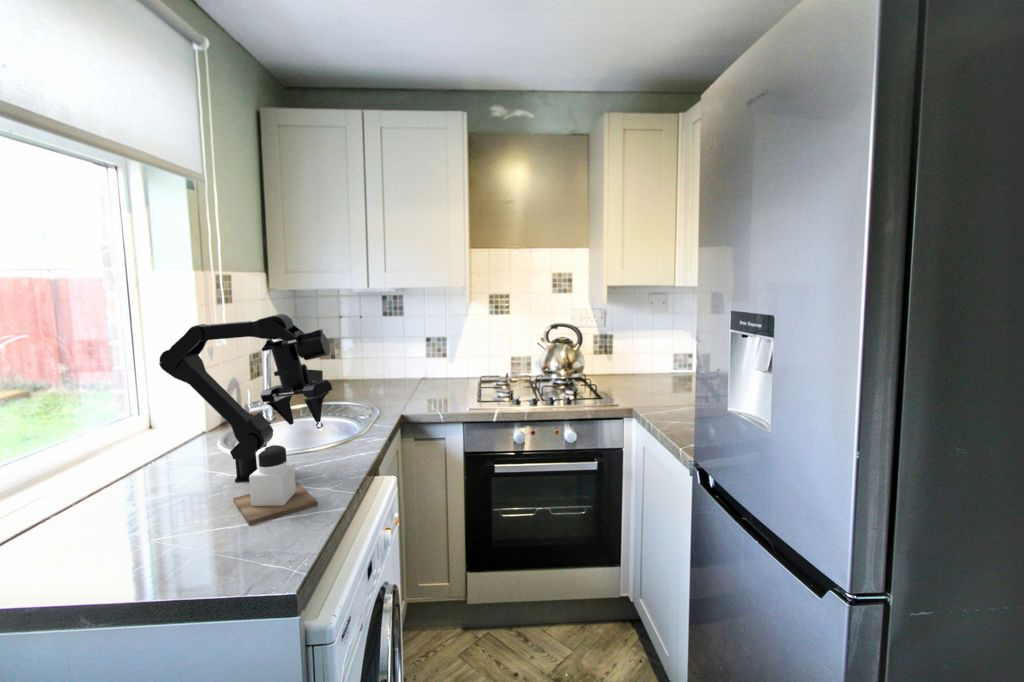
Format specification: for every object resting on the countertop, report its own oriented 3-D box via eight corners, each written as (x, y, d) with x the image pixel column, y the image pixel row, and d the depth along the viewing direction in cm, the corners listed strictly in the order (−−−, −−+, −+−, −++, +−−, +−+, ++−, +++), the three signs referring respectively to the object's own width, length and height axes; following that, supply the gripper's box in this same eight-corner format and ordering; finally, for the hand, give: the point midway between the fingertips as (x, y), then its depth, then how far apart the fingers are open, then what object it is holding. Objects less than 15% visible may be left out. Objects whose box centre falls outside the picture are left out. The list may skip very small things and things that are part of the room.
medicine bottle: (296, 492, 120) (293, 442, 119) (284, 506, 113) (280, 453, 112) (265, 493, 120) (261, 443, 119) (251, 506, 113) (246, 453, 111)
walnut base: (233, 502, 118) (233, 498, 118) (297, 485, 126) (297, 481, 126) (249, 525, 107) (248, 520, 107) (317, 505, 116) (317, 501, 116)
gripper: (339, 352, 133) (354, 409, 135) (286, 359, 140) (301, 414, 143) (307, 363, 123) (324, 425, 125) (252, 371, 130) (269, 429, 133)
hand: (305, 423), depth 132 cm, fingers open, 9 cm apart
